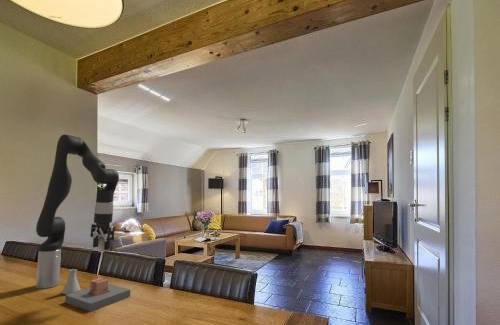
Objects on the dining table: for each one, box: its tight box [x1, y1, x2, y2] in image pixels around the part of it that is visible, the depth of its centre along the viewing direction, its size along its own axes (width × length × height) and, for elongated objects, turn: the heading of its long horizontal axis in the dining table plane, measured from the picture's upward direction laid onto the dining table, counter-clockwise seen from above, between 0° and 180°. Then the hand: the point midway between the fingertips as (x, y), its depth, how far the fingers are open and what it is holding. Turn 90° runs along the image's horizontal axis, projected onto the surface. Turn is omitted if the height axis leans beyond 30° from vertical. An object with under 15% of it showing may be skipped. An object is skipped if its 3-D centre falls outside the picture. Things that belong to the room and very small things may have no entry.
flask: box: [61, 268, 82, 295], centre depth 130 cm, size 7×7×10 cm
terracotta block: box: [89, 277, 109, 296], centre depth 122 cm, size 5×5×8 cm
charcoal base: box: [64, 283, 131, 313], centre depth 121 cm, size 18×18×3 cm
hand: (101, 248), depth 127 cm, fingers open, 8 cm apart
